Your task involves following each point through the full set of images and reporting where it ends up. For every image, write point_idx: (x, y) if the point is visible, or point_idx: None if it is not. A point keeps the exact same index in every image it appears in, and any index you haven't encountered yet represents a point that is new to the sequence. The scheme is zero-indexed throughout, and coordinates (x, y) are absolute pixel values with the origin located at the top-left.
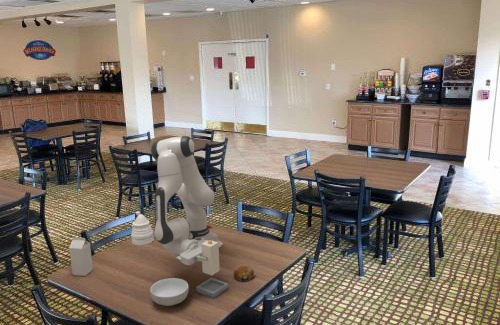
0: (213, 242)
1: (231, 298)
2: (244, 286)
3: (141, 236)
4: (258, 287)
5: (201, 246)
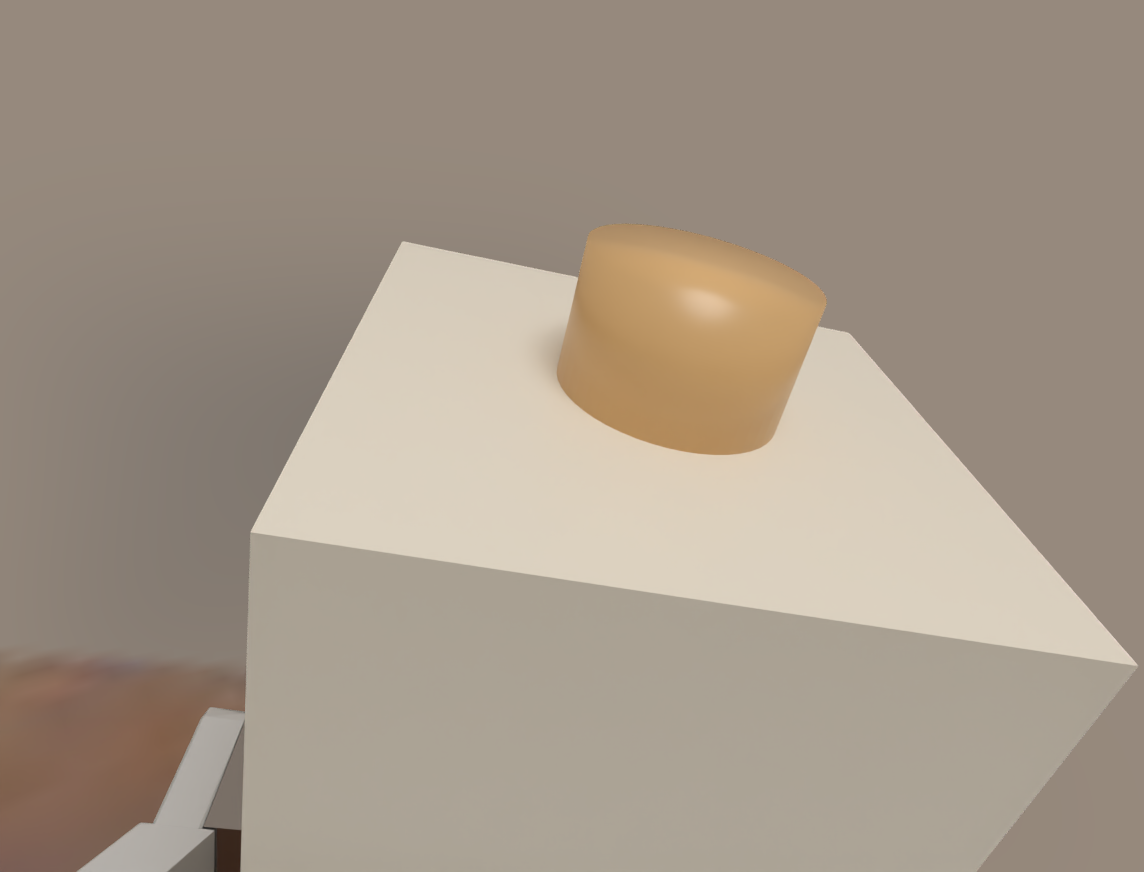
0: (500, 325)
1: None
2: (97, 814)
3: None
4: (91, 664)
5: (1033, 779)
